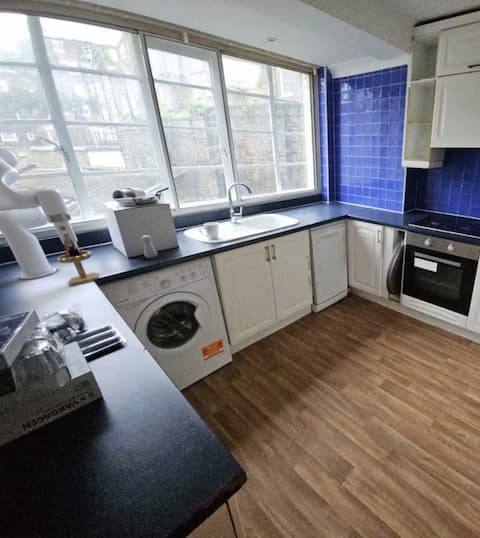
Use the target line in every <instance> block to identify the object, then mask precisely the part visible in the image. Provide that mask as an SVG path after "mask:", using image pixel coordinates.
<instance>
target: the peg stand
mask: <svg viewBox="0 0 480 538" xmlns="http://www.w3.org/2000/svg"><path fill="white" fill-rule="evenodd" d="M73 264H74V267H75V269H76V272H77V274H78V275H75V276H72V277H70V284H71V286H72V287H73V286H77V285H80V284H85V283H89V282H93V281H97V280H99V279H98V276H97V273H96V271H95V272H90V273H86V270H85V268H84V266H83V263H82V261H78V262H73Z"/></svg>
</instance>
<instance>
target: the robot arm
mask: <svg viewBox="0 0 480 538" xmlns="http://www.w3.org/2000/svg"><path fill="white" fill-rule="evenodd" d="M18 163H19V160H18V157H17V156H16V154H14V153H13V151H11V150H9V149H7V148H5V147H0V233H1V235H3V237H4V239H5V240H6V242H7V244H8V246H9V248H10V250H11V252H12V253H13V256H14V258H15V260H16V262H17V264H18V266H19V267H20V269H21V272H22V274H20V275H19V277H20V279H22V280H32V279H38V278H43V277H46V276H48V275H49V276H50V275H51V274H54V273H56V272H57V267H53V266H52V267H51V265H50V263H49V261H48V259H47V257H46V254H45V252H44V249H43V248H42V246H41V244H40V242H39V239H38V238H37V236H35V235H34V234H33V233H31V232H29V231H28V230H30V229H36V228H41V227H43V226H46V225H47V224H52V225H53V227H54V229H55V232H56V233H57V235H58V237H59V239H60V241H61V243H62V244H66V246H67V248H68V252H69V254H70V257H75V256H79V255H80V254H79V252H78V249H77V247H76V245H75V243H74V242H76V243H78V238H77V235H76V233H75V231H74V229H73V226H72V224H71V222H70V221H72V217H71V214H70V213H69V210H68V208H67V205H66V203H65V200H64V198H63V196H62V193H61V192H60V190H59V189H57V188H29V189H20V188H14V187H12V188H11V187H9V186H12V185H13V184H15V183H16V182H17V181H18V180H19V179H20V172H19V170H17V169H16V168H15V167H16V166H18Z"/></svg>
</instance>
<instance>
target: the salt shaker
mask: <svg viewBox="0 0 480 538" xmlns="http://www.w3.org/2000/svg"><path fill="white" fill-rule="evenodd" d="M140 240H141V242H143V250H144V251H143V252H144V253H143V255H144V257H145V258H146V259H153V258H156V257H157V256H158V252H157V250H156V248H155V247H154V245H153V243H152V241H151V240H152V237H151V235H142V236H141V237H140Z"/></svg>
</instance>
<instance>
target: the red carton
mask: <svg viewBox="0 0 480 538" xmlns="http://www.w3.org/2000/svg"><path fill="white" fill-rule="evenodd" d="M74 243H75V245H76V247H77V249H78V251H81V250H80V248H79V246H78V245H79V244H78V242H74ZM62 244H63V243H62ZM63 247H64V250H65V251H66V254H67V253H69V252H68V248H67V246H66V244H63Z"/></svg>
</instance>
